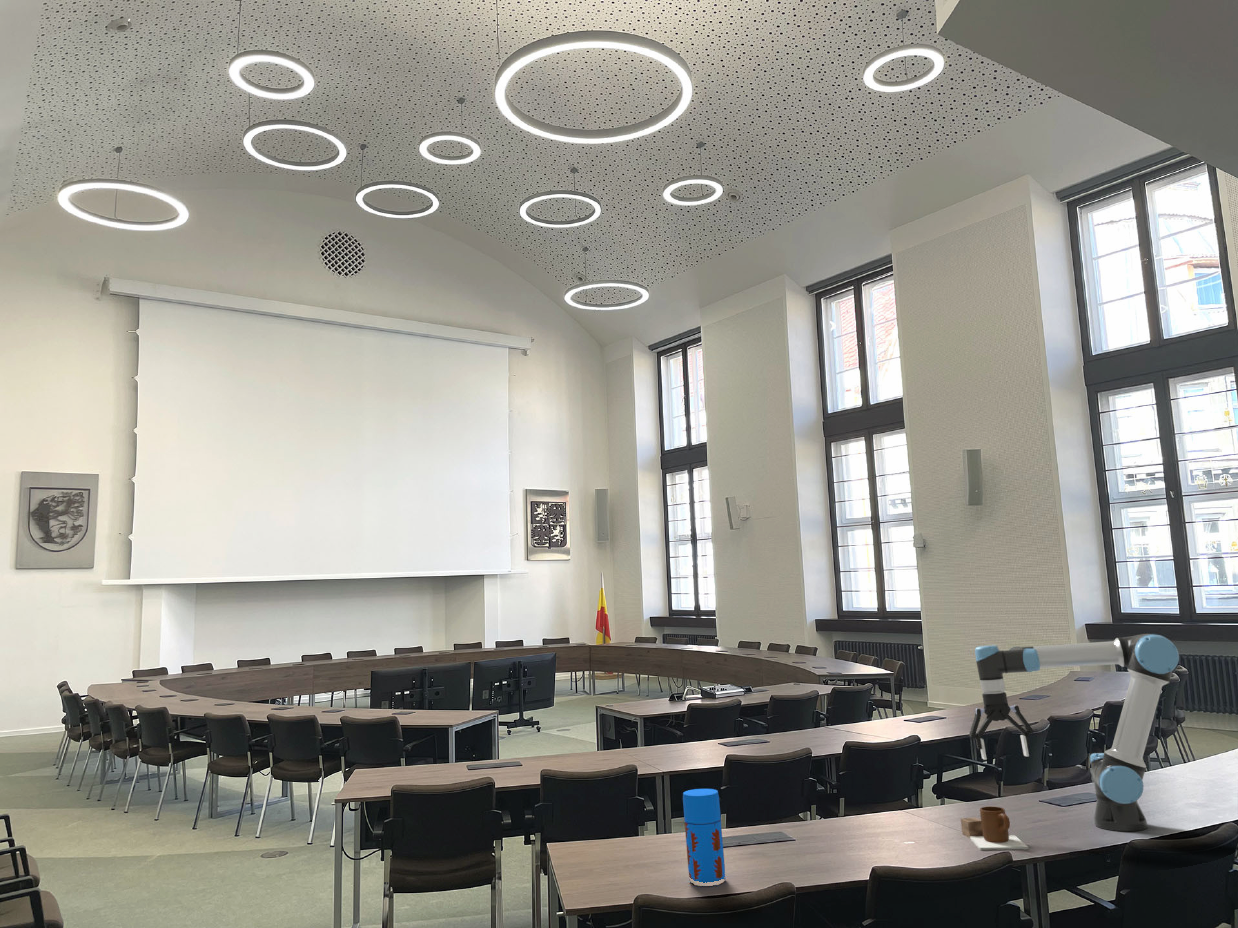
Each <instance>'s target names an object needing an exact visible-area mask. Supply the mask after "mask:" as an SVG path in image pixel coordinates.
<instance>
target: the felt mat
mask: <svg viewBox="0 0 1238 928" xmlns="http://www.w3.org/2000/svg"><path fill="white" fill-rule="evenodd" d="M969 839H970V840H971V842H972V843H973V844H974V845H975V846H976V847H977V849H979V850H980V851H1006V850H1007V851H1011V850H1015V851H1016V850H1017V851H1018V850H1029V846H1028V845H1026V844H1025V843H1024V841H1023V842H1022V839H1021V840H1020V839H1019V837H1017V835H1015V834H1009V840H1008V841H1007V842H1001V843H995V842H989V841H986V840H985V839H984V837H983V836H970V838H969Z"/></svg>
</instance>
